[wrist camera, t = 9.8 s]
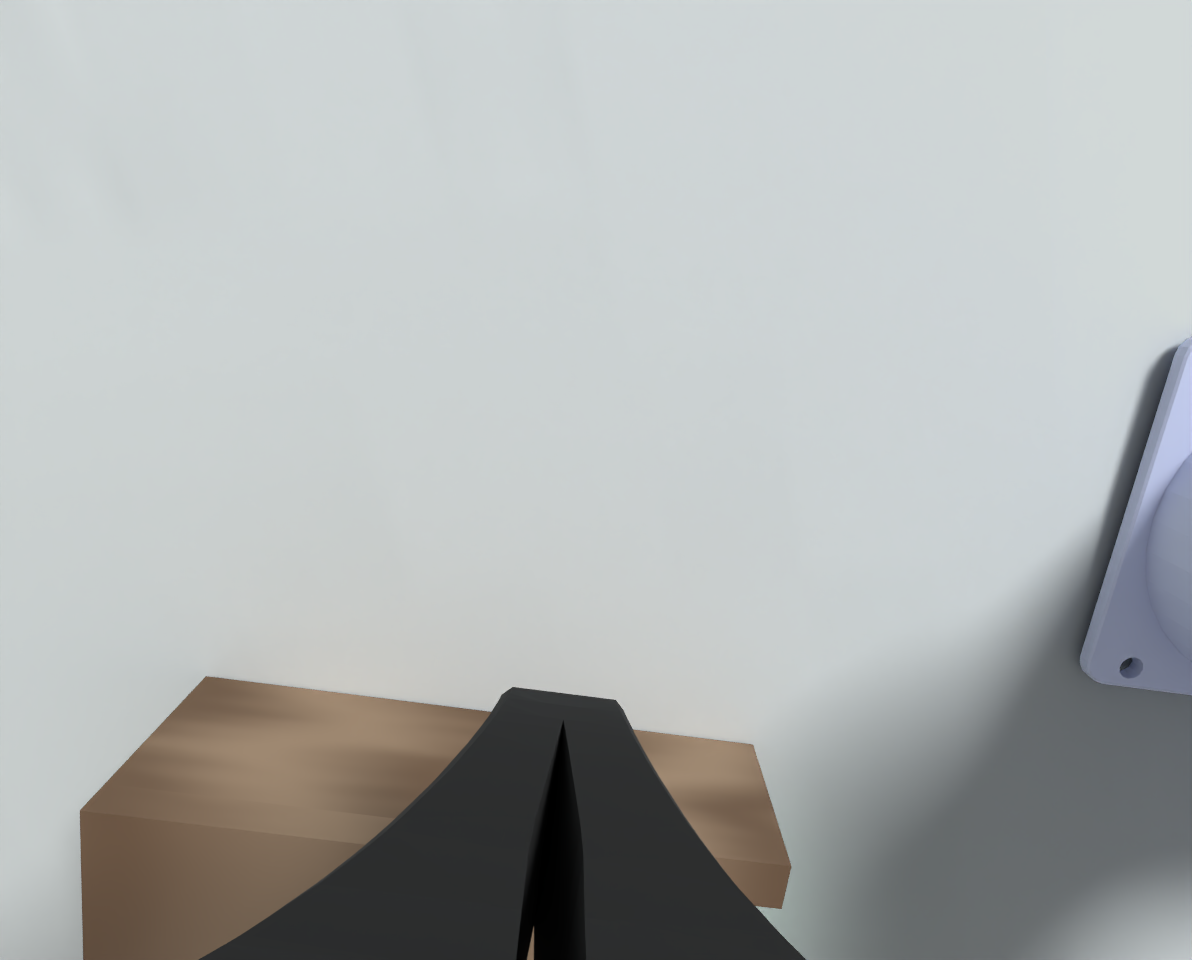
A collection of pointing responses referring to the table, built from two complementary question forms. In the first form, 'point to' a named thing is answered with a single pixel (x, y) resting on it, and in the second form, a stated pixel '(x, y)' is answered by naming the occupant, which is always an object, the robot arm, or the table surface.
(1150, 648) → the robot arm
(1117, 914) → the table surface
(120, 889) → the low shelf
